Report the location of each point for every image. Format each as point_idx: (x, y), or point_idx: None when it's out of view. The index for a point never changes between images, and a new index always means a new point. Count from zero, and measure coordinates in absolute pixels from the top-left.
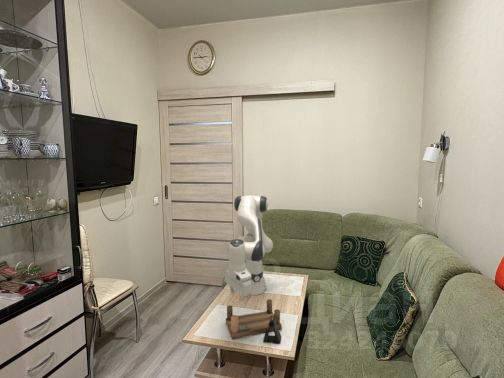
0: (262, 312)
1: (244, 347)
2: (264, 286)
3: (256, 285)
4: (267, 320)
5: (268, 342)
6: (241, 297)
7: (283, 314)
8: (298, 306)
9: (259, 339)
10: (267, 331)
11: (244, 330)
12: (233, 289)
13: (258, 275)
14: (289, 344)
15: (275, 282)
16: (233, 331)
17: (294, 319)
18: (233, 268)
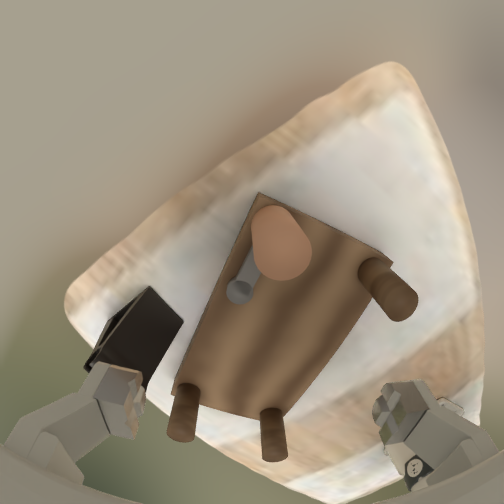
0: (292, 399)
1: (169, 199)
2: (390, 455)
3: (407, 448)
4: (231, 383)
5: (134, 299)
6: (81, 401)
7: (246, 430)
8: (247, 465)
9: (174, 287)
10: (119, 324)
11: (240, 267)
12: (409, 438)
13: (414, 479)
14: (94, 339)
15: (380, 470)
16: (262, 209)
17: (199, 431)
18: None
